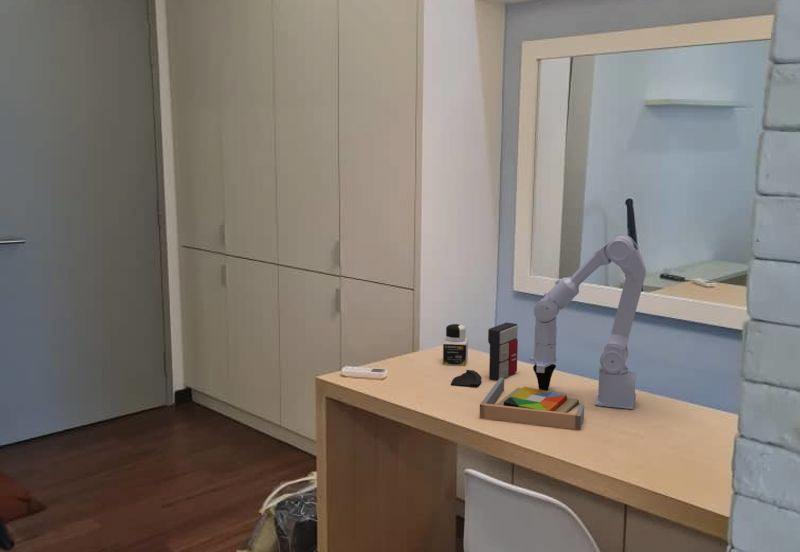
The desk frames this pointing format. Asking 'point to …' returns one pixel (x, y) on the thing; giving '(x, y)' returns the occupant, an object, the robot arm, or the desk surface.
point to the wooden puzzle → (538, 400)
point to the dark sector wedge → (467, 379)
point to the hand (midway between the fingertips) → (543, 391)
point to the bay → (527, 412)
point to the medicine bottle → (455, 346)
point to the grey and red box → (503, 350)
